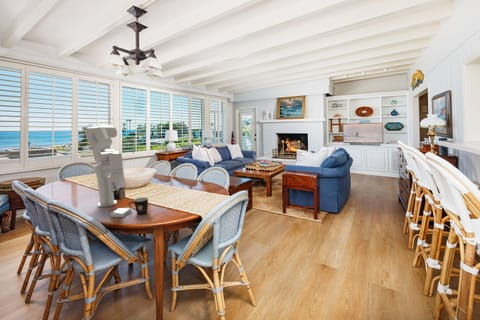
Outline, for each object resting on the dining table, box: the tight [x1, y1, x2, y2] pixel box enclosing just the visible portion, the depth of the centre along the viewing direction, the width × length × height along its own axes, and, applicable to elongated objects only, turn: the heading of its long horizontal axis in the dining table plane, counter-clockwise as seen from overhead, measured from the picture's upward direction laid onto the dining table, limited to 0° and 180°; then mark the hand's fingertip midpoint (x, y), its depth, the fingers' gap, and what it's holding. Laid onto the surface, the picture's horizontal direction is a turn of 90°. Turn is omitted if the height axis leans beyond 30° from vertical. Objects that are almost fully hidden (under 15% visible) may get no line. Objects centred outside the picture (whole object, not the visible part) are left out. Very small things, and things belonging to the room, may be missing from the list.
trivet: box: [109, 207, 132, 218], centre depth 153 cm, size 9×9×3 cm
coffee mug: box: [128, 197, 149, 216], centre depth 153 cm, size 12×9×10 cm
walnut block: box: [113, 188, 126, 201], centre depth 151 cm, size 5×5×6 cm
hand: (119, 197), depth 151 cm, fingers closed on walnut block, 5 cm apart
